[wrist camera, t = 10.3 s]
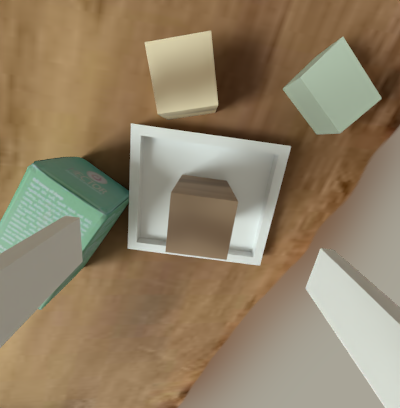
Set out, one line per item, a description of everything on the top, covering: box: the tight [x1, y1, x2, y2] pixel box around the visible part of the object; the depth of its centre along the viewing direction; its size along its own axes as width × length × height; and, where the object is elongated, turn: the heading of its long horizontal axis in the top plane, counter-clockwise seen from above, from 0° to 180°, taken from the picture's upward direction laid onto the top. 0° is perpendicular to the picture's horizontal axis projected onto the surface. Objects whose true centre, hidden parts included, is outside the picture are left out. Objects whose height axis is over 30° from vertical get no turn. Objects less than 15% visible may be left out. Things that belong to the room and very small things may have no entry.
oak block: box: [145, 31, 218, 120], centre depth 18 cm, size 5×5×5 cm
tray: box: [128, 124, 291, 265], centre depth 23 cm, size 14×16×2 cm
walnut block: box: [165, 175, 238, 260], centre depth 19 cm, size 5×5×8 cm
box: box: [0, 157, 129, 310], centre depth 21 cm, size 7×14×8 cm, turn 142°
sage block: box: [283, 37, 382, 134], centre depth 19 cm, size 6×4×4 cm, turn 44°
